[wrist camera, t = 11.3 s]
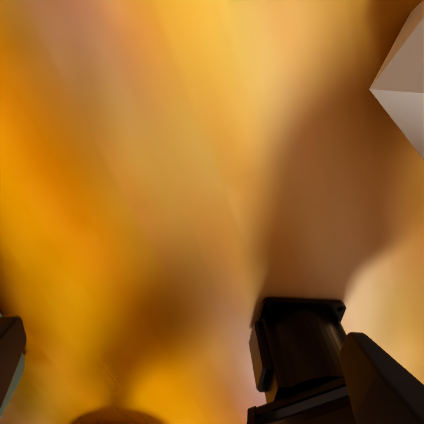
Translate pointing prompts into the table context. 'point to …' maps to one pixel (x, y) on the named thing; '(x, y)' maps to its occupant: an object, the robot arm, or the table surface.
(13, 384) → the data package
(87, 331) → the table surface
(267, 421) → the robot arm
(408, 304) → the table surface
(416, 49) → the die
